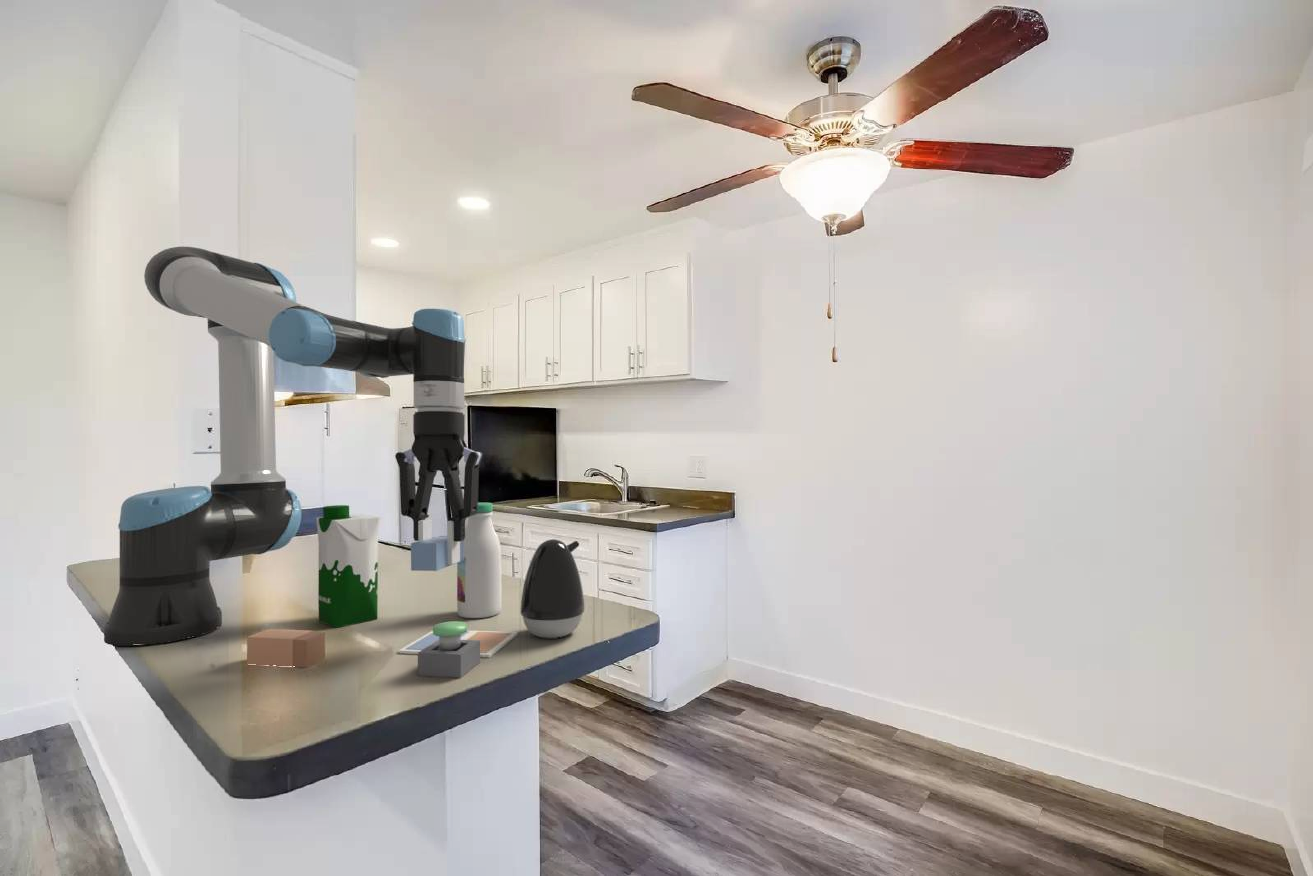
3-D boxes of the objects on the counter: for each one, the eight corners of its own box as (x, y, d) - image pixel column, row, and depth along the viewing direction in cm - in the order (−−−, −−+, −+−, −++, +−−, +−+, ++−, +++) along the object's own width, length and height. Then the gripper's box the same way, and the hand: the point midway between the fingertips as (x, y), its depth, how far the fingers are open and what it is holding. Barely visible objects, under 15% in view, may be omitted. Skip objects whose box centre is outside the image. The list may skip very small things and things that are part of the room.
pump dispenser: (598, 633, 102) (598, 539, 102) (546, 648, 94) (546, 546, 94) (559, 621, 109) (559, 533, 109) (507, 634, 101) (507, 539, 101)
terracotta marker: (246, 666, 87) (247, 637, 87) (268, 656, 91) (268, 628, 91) (305, 669, 86) (306, 639, 86) (325, 659, 90) (325, 631, 90)
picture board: (398, 653, 92) (398, 649, 92) (435, 631, 103) (435, 628, 103) (489, 657, 90) (489, 654, 90) (517, 635, 101) (517, 631, 101)
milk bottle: (507, 608, 117) (507, 501, 118) (492, 620, 110) (492, 505, 110) (467, 607, 118) (467, 501, 118) (449, 619, 110) (450, 504, 111)
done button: (426, 651, 84) (426, 629, 84) (442, 640, 88) (442, 620, 88) (457, 652, 83) (457, 631, 83) (472, 642, 87) (472, 622, 87)
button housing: (417, 675, 83) (417, 652, 83) (439, 660, 89) (439, 638, 89) (460, 677, 82) (460, 654, 82) (480, 662, 88) (480, 640, 88)
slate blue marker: (436, 570, 92) (436, 543, 92) (411, 570, 93) (410, 543, 93) (464, 560, 101) (463, 535, 101) (440, 560, 102) (440, 535, 102)
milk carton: (310, 621, 109) (311, 505, 110) (363, 610, 116) (363, 502, 117) (332, 630, 104) (333, 509, 104) (386, 619, 111) (386, 505, 111)
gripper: (374, 410, 95) (373, 565, 95) (481, 408, 92) (481, 568, 92) (401, 413, 102) (401, 557, 102) (501, 411, 100) (501, 559, 100)
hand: (439, 562), depth 97 cm, fingers closed on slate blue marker, 4 cm apart
